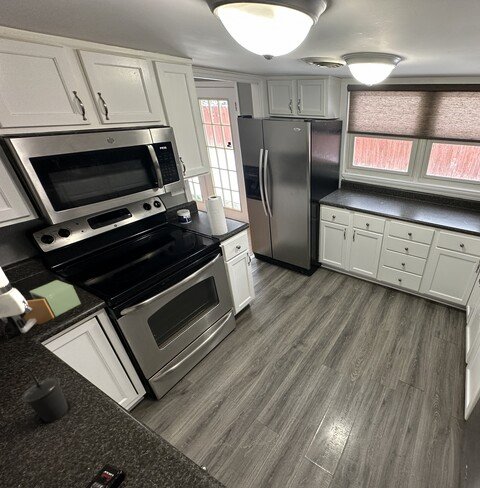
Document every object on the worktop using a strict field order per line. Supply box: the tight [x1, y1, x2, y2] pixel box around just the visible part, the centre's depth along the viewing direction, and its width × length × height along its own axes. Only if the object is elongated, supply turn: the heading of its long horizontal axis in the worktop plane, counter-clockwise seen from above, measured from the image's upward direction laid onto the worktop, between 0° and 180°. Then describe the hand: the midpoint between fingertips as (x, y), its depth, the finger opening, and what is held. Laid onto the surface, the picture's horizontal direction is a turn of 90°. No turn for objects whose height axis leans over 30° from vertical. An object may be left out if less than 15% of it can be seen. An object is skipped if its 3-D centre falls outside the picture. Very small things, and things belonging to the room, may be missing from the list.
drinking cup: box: [21, 371, 69, 423], centre depth 77 cm, size 8×8×20 cm
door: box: [11, 299, 55, 334], centre depth 111 cm, size 8×12×13 cm, turn 106°
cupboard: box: [29, 279, 82, 318], centre depth 122 cm, size 10×12×13 cm
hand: (19, 326), depth 108 cm, fingers closed on door, 2 cm apart
